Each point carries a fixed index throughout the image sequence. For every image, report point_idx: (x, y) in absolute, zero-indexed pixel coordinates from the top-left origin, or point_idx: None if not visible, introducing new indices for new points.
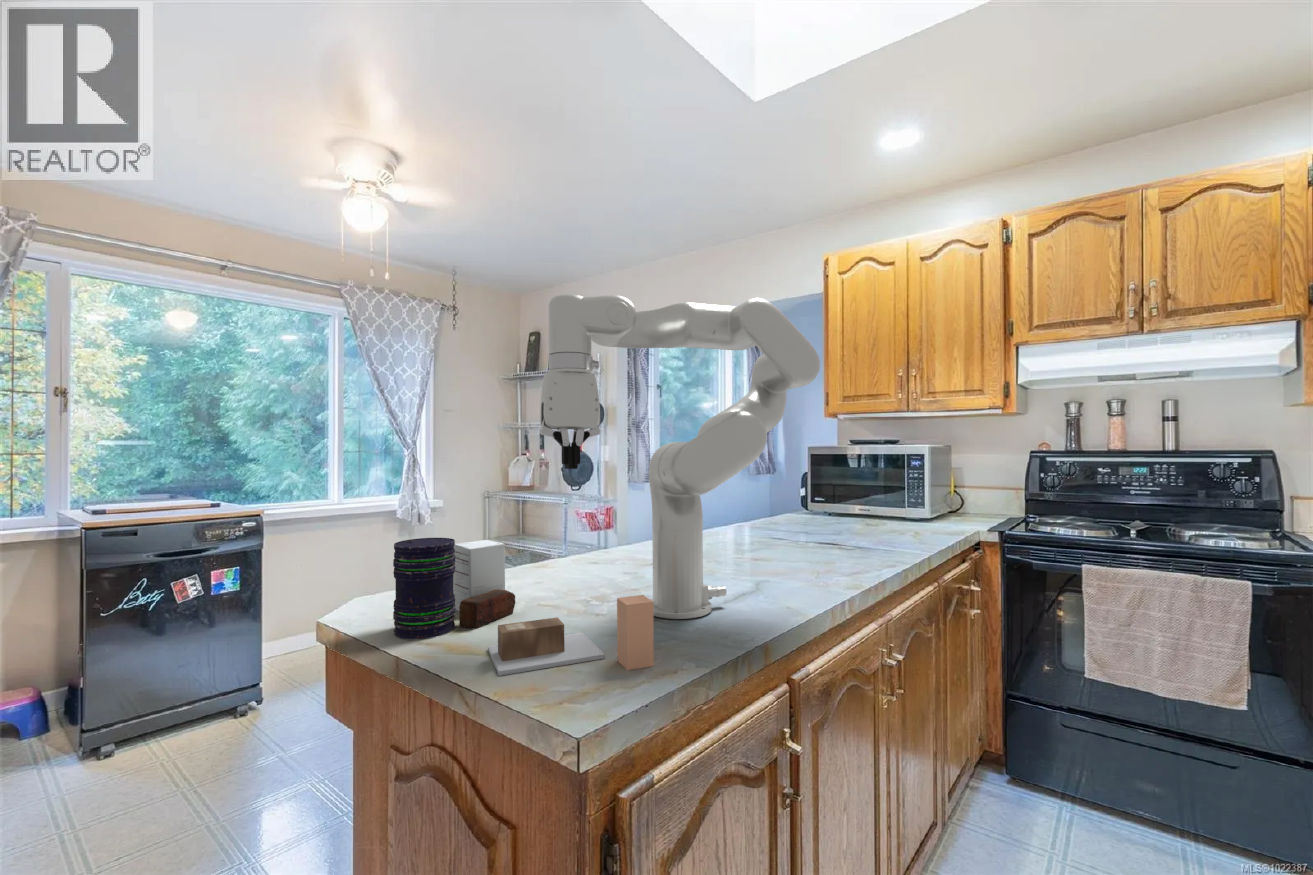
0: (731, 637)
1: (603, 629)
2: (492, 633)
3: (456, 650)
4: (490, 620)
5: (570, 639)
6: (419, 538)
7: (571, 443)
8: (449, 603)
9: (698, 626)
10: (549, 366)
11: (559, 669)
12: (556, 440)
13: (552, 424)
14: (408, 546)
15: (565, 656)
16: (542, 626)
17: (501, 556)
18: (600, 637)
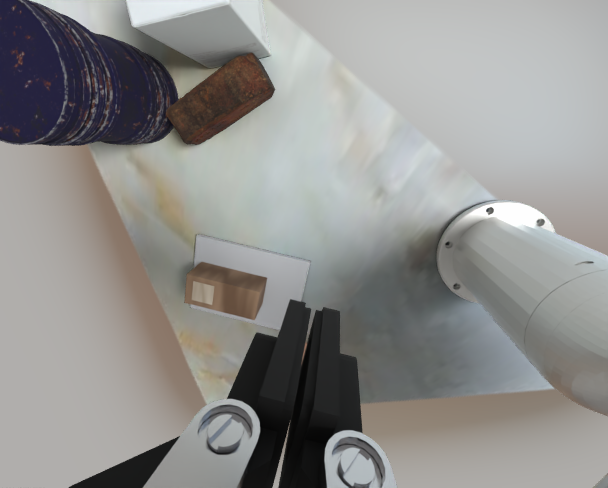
0: (446, 368)
1: (346, 255)
2: (218, 177)
3: (167, 212)
4: (225, 128)
5: (285, 275)
6: None
7: (300, 471)
8: (142, 133)
9: (450, 321)
10: None
11: (245, 325)
12: (137, 470)
13: None
14: None
15: (257, 315)
16: (230, 310)
17: (231, 21)
18: (326, 277)
